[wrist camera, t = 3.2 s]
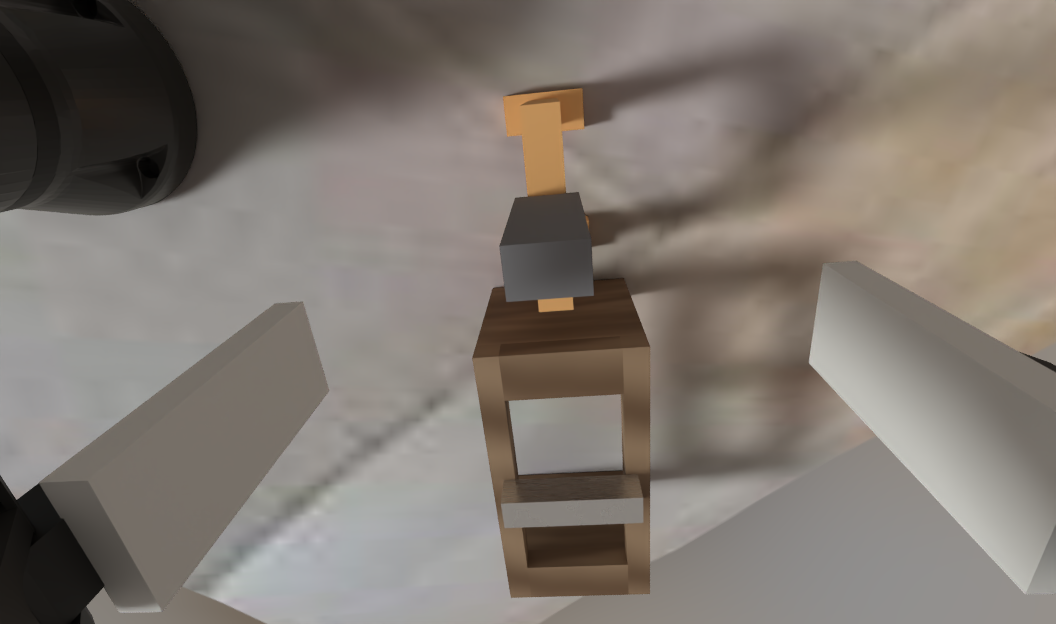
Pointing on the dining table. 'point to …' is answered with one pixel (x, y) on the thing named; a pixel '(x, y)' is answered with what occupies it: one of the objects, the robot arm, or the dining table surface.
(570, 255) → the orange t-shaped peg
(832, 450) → the dining table surface
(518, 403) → the dining table surface
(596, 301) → the brown frame with crossbar
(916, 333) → the robot arm
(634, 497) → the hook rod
